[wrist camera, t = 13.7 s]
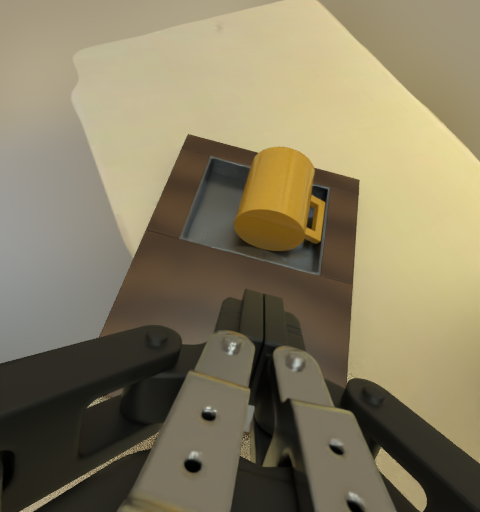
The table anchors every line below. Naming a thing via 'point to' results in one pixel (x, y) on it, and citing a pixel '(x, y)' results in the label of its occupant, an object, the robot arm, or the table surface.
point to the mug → (279, 201)
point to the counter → (238, 270)
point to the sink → (224, 212)
